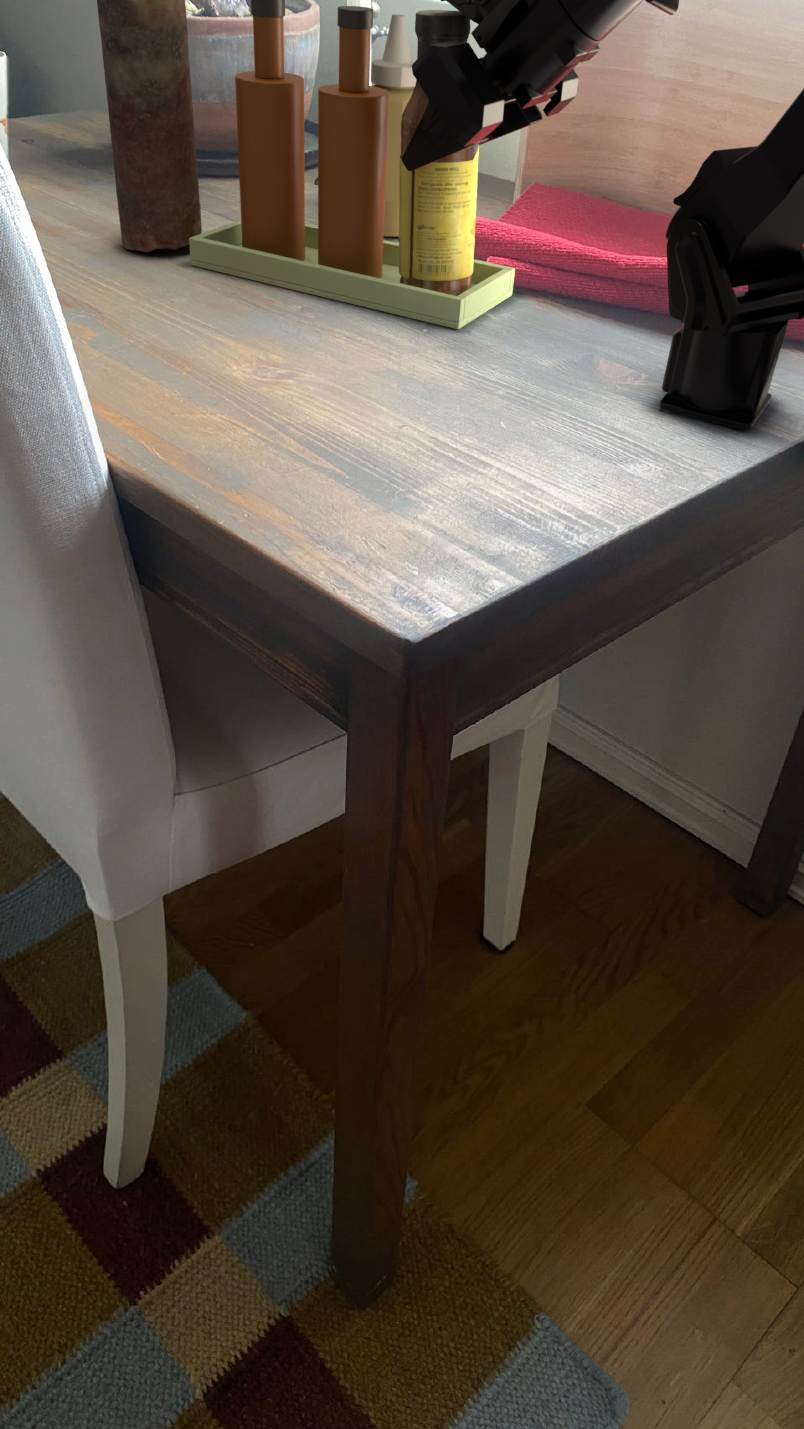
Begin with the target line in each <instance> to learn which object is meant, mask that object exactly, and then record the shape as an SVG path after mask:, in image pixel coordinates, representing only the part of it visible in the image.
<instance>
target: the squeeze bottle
mask: <svg viewBox="0 0 804 1429" xmlns="http://www.w3.org/2000/svg"><path fill="white" fill-rule="evenodd" d="M389 23H390V24H389V27H388V32H387V36H386V40H385V45H384V49H383V50H384V51H383V55H382V58H381V59H373V60H372V61H370V67H371V68H370V82H371V83H372V84H373V85H372V86H374V87H379V88H382V89H385V90H387V91H388V92H389V109H388V135H387V160H386V186H385V211H384V237H392V238H393V237H394V238H396V237H398V238H399V195H400V155H401V121H402V114H403V112H404V109H405V108H406V105H407V103H408V102H409V100H410V98H411V96H412V93H413V91H414V88H415V84H416V78H415V77H414V75H413V74H412V64H413V63H414V62H415V61H412V60H411V52H410V44H409V36H408V28H407V22H406V15H404V14H398V13H397V14H396V13H394V14H391V18H390V22H389Z"/></svg>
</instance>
